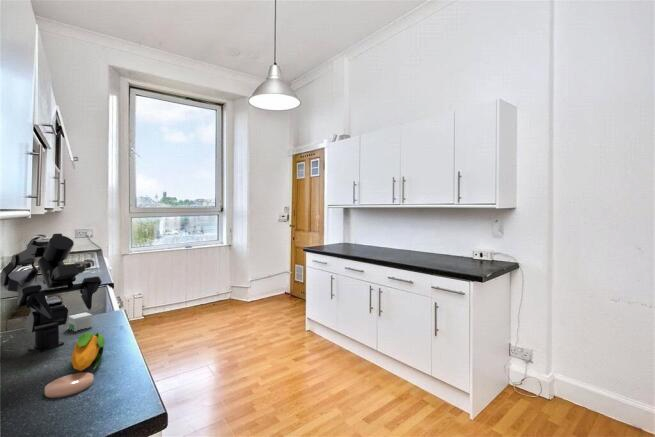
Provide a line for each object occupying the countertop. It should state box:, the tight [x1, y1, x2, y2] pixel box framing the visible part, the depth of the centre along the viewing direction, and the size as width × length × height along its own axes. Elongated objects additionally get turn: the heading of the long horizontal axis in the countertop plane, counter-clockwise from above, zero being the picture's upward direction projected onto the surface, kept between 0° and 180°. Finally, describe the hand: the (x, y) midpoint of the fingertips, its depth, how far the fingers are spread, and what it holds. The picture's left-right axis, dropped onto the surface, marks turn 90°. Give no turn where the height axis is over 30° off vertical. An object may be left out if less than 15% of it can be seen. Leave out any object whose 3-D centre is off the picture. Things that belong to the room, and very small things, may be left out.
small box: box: [67, 311, 94, 332], centre depth 114 cm, size 6×6×5 cm
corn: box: [70, 332, 106, 372], centre depth 86 cm, size 7×8×20 cm
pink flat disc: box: [44, 372, 95, 399], centre depth 74 cm, size 9×9×1 cm
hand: (71, 313), depth 89 cm, fingers open, 9 cm apart
